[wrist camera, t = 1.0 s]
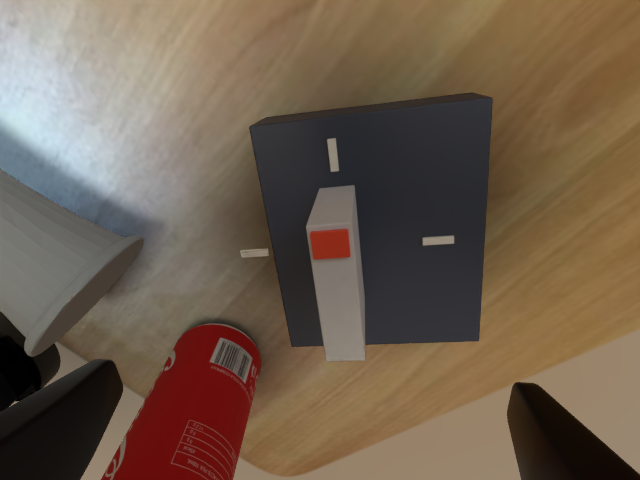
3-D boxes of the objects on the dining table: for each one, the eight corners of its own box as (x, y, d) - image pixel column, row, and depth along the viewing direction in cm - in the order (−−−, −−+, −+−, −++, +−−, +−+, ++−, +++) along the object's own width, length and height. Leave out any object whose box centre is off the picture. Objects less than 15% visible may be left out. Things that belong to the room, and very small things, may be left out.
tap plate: (465, 308, 22) (480, 343, 20) (274, 316, 24) (262, 350, 21) (473, 92, 18) (494, 97, 15) (234, 121, 19) (211, 130, 16)
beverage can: (186, 307, 24) (-32, 607, 11) (282, 336, 25) (186, 666, 11) (175, 372, 27) (-14, 682, 13) (262, 398, 27) (164, 729, 14)
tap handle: (364, 298, 19) (365, 365, 15) (333, 300, 19) (325, 366, 15) (354, 184, 17) (352, 225, 13) (319, 188, 17) (304, 228, 13)
